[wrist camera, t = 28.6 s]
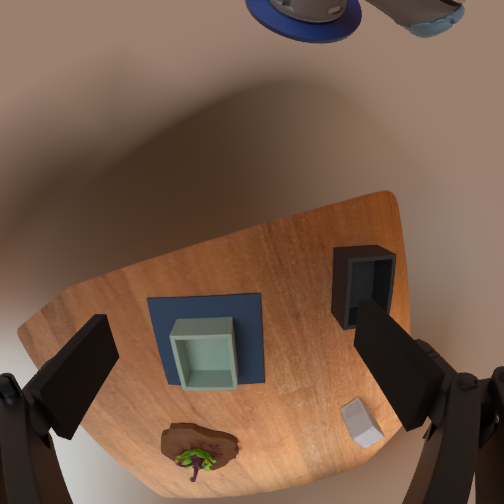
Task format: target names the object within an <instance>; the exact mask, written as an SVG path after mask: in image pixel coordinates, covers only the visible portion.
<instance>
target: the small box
mask: <svg viewBox="0 0 504 504" xmlns="http://www.w3.org/2000/svg"><path fill="white" fill-rule="evenodd" d="M340 412H341V414H342V416H343V419H344V421H345V424H346V426H347V428H348V431H349V433H350V436H351V438H352V440H353V441H355V442H356V443H358V444H359V445H360V446H362V447H363V448H367V447H369V446H371V445H372V444H374V443H376V442H377V441H379V440H380V439H382V438H384V437H385V436H384V434H383V432H382V430H381V428H380V426H379V425H378V423H377V421H376V419H375V417H374V415H373V413H372V411H371V410H370V408H369V407H368V406H367V405H366V404H365V403H364V402H363V401H362V400H361V399H360V398H359V397H357V398H356V399H354V400H353V401H351V402H350V403H348V404H347V405H345V406H343V407H342V408H340Z"/></svg>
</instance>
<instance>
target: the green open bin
mask: <svg viewBox="0 0 504 504" xmlns="http://www.w3.org/2000/svg"><path fill="white" fill-rule="evenodd" d="M170 341H171V345H172V350H173V354H174V358H175V362H176V366H177V370H178V374H179V377H180V381H181V385H182V388H183V390H238V363H237V354H236V345H235V335H234V326H233V317H218V318H191V319H177V320H176V322H175V324H174V326H173V329H172V331H171V333H170Z"/></svg>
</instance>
